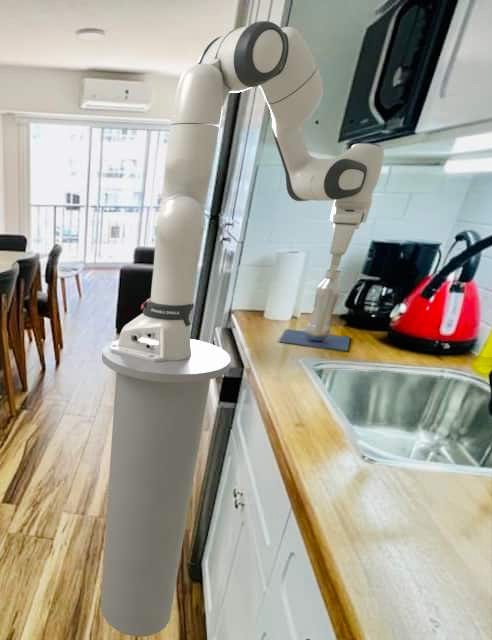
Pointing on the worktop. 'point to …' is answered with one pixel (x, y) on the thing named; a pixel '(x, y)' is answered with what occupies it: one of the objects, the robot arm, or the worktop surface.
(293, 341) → the cloth
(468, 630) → the worktop surface
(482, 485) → the worktop surface
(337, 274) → the plastic bottle
